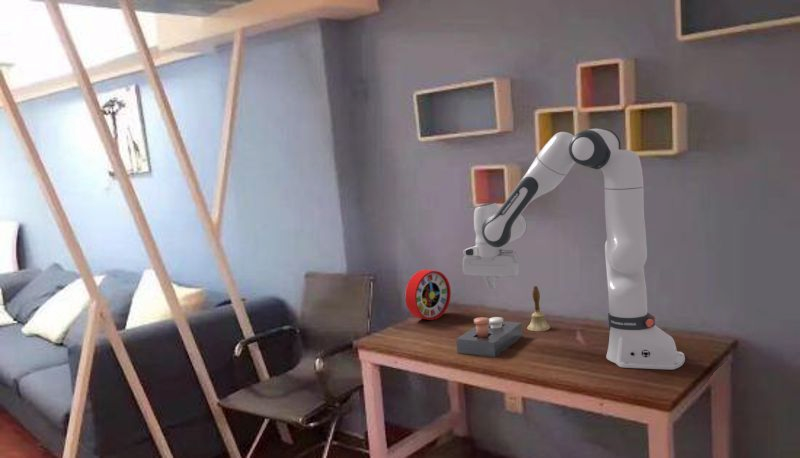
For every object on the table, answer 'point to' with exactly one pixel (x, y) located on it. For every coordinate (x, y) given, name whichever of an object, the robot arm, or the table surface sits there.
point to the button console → (489, 340)
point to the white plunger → (496, 322)
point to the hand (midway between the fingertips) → (491, 288)
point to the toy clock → (428, 294)
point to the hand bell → (537, 315)
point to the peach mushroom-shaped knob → (482, 326)
